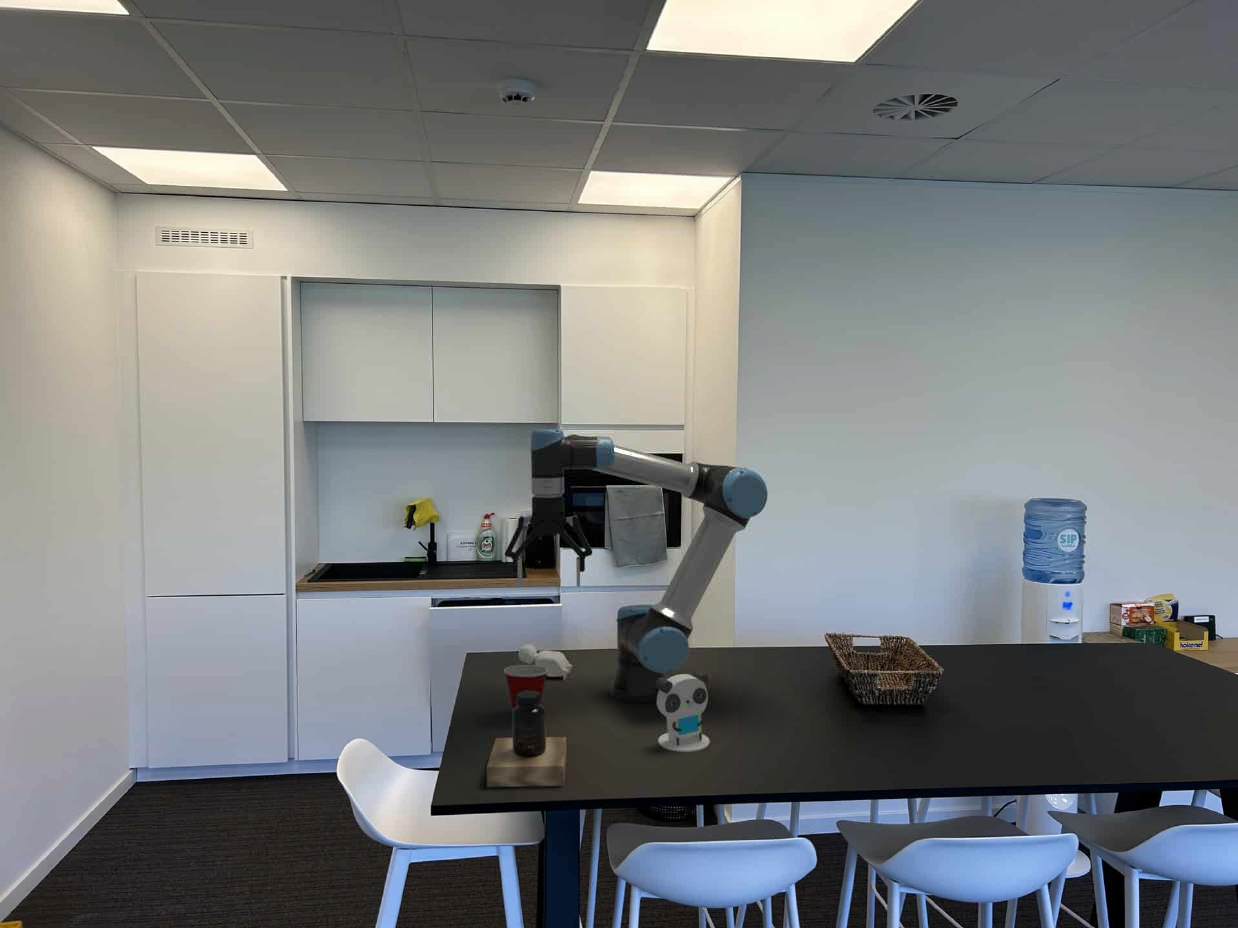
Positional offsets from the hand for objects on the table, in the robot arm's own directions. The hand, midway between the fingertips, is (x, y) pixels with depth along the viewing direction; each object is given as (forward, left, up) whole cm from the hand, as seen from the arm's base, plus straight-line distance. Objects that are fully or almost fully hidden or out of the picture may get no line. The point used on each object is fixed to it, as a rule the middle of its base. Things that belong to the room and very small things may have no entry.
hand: (549, 586), depth 204 cm
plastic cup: (+6, -4, -33) cm, 34 cm away
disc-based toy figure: (-30, +13, -33) cm, 46 cm away
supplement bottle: (+3, +27, -29) cm, 39 cm away
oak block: (+3, +27, -33) cm, 42 cm away
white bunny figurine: (+4, -36, -33) cm, 49 cm away
